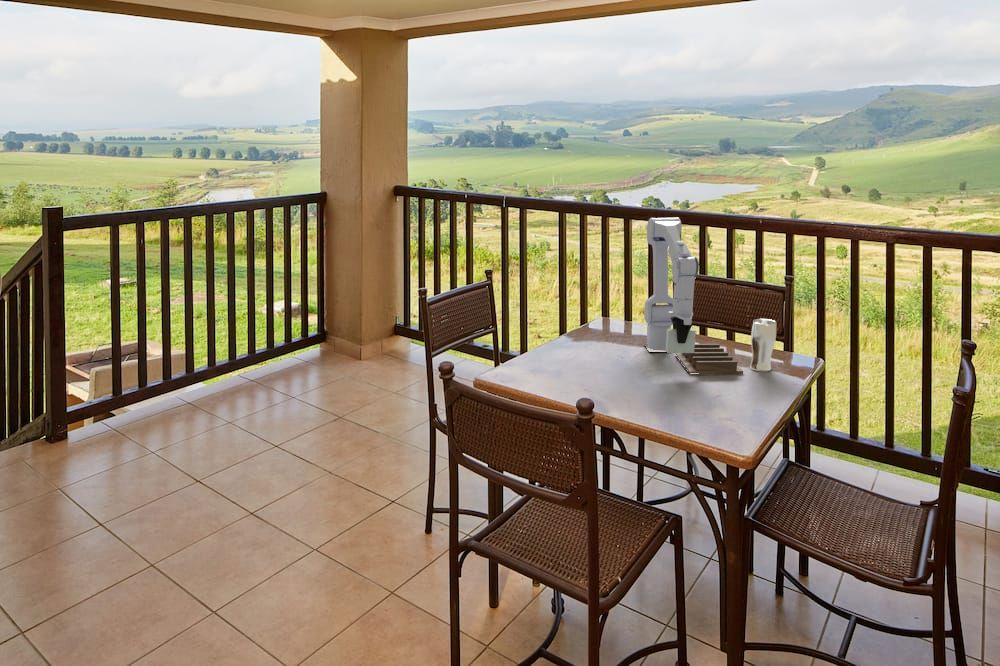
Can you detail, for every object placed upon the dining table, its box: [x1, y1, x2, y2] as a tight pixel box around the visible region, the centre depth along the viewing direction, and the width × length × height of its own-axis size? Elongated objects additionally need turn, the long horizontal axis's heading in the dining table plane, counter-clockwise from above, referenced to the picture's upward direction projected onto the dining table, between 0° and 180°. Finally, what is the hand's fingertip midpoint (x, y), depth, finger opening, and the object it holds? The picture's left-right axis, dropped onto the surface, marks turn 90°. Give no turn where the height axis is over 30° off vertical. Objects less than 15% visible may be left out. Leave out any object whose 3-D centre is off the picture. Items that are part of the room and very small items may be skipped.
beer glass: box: [749, 318, 777, 373], centre depth 197 cm, size 7×7×15 cm
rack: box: [674, 343, 744, 375], centre depth 203 cm, size 18×16×4 cm
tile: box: [666, 328, 697, 354], centre depth 195 cm, size 2×8×7 cm, turn 88°
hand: (680, 341), depth 195 cm, fingers closed on tile, 2 cm apart
